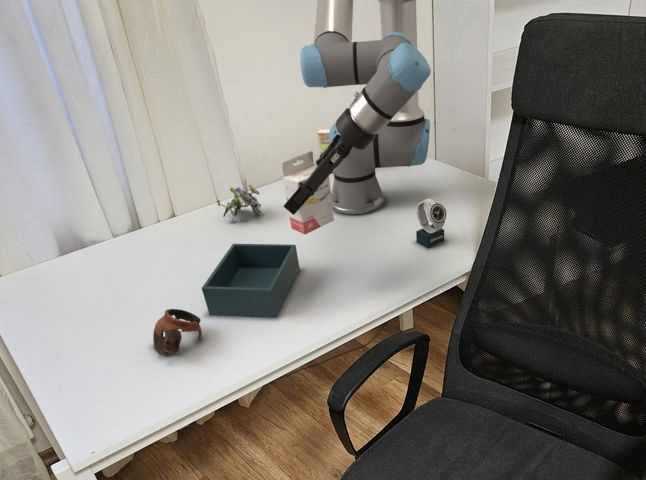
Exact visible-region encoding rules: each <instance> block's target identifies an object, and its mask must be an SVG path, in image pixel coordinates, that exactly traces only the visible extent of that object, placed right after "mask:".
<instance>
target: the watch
mask: <svg viewBox="0 0 646 480" xmlns="http://www.w3.org/2000/svg"><path fill="white" fill-rule="evenodd" d="M425 204H426V210H427V213H426V210H425ZM416 216H417V219H418V223H419V225H420V227H422V228H420V229H418V230H416V231H415V237H416V239H415V240H416V243H417V244H418V245H421V246H422V247H424V248H426V249H430V248H432V247H434V246H436V245H439V244H441V243H443V242H445V229H443V228H444V226H445V223H446V219H447V209H446V207H445V206H444V205H443V204H442V203H440V202H439V201H437V200H435V199H433V198H427V199H424V200H422V201H421V200H420V202H418V203H417V206H416ZM429 222H431V224H430V223H429Z"/></svg>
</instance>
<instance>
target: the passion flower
mask: <svg viewBox="0 0 646 480" xmlns="http://www.w3.org/2000/svg"><path fill="white" fill-rule="evenodd" d="M248 189H249V191H250V192H248V191H247V190H246V189H244V188H242V187H241V188H240V187H239V186H238V187H237V186H236V187H235V188H234V187H232V186H229V191H230V192H231V193H232V194H233V198H232V199H231V201H230V202H229V201H228V202H227V203H226V205H224V204H222V203H221V201H220V200H216V203H217V206H218V207H221V206H222V207H224V208H225V209H224V213H223V216H222V217H223V218H225V217H226V215H227V214H228V212H229V211H230V213H231V222H233V221H234V218H236V216H237V215H238V212H239V211H241V209H242V208H247V207H249V206H250V207H251V210H252V212H253V214H255V216H257V217H261V215H262V210H261V207H262V204H261V203H260V202H259V201H258V198H257V197H256V196H254V195H253V194H255V195H258V196H259V195H260V192H259V190H257V189H256V188H254V187H253V186H252V185H251V184H248Z"/></svg>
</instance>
